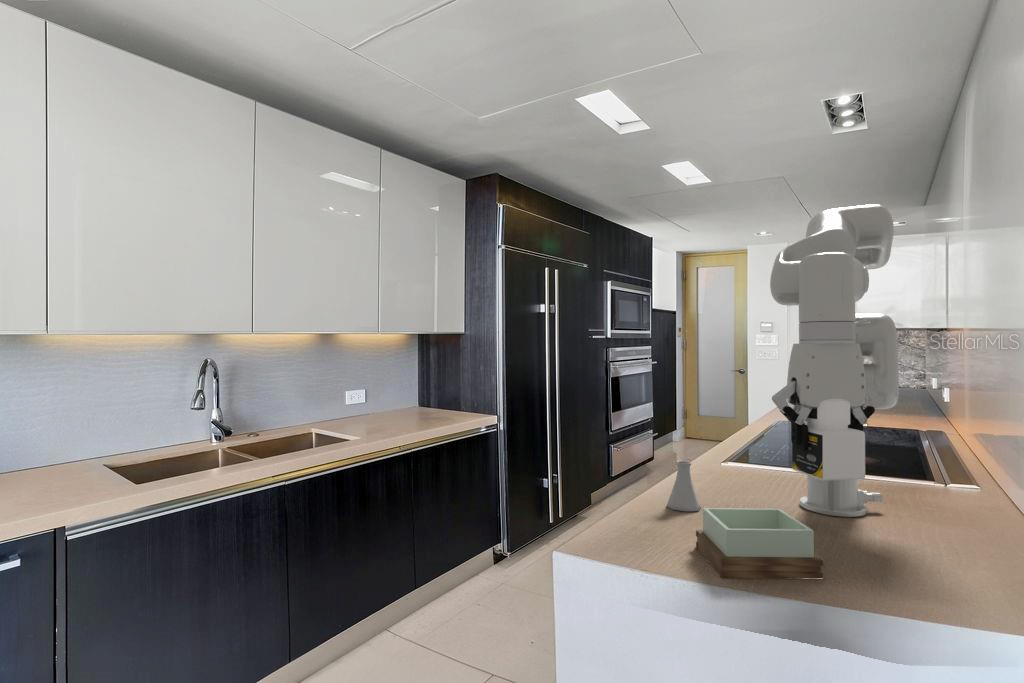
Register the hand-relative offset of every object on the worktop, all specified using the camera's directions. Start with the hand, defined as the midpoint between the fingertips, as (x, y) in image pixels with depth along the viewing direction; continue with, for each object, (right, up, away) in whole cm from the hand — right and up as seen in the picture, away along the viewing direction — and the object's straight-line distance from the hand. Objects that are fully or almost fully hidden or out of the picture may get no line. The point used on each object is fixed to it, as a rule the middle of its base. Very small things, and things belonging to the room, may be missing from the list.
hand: (826, 448), depth 84 cm
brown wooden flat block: (-9, -20, +5) cm, 22 cm away
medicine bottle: (0, -4, 0) cm, 4 cm away
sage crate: (-9, -17, +5) cm, 20 cm away
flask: (-11, -20, +35) cm, 42 cm away
